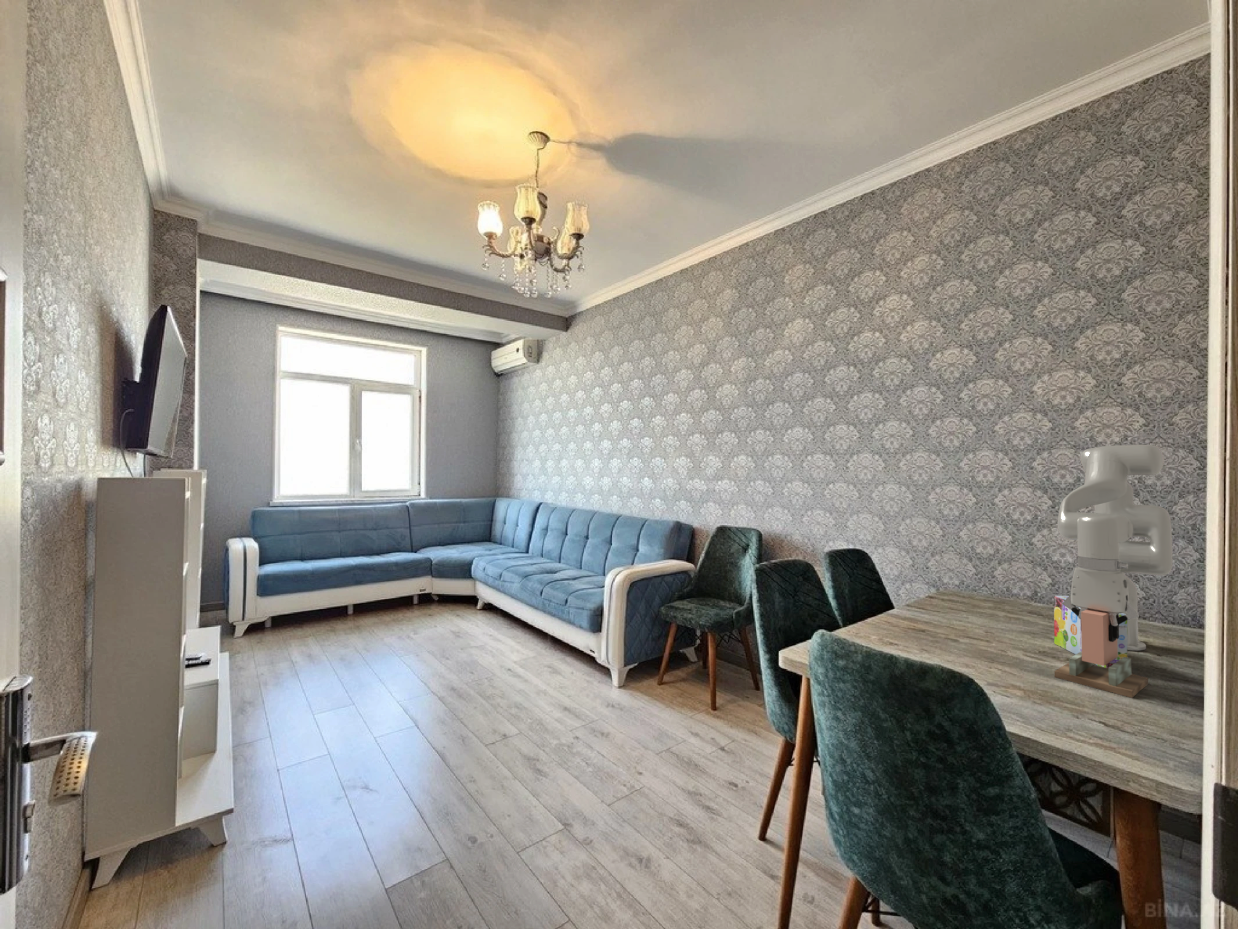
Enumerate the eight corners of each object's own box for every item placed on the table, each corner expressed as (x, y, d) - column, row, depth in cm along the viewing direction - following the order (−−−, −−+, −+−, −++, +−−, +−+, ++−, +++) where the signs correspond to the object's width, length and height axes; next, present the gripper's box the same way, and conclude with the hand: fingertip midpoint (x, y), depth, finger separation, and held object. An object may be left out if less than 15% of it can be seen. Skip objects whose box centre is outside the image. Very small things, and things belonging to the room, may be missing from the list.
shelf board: (1073, 665, 134) (1073, 645, 134) (1148, 684, 122) (1147, 661, 122) (1054, 677, 126) (1054, 655, 126) (1131, 697, 114) (1131, 673, 115)
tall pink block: (1096, 652, 129) (1095, 605, 129) (1117, 657, 125) (1116, 609, 126) (1081, 660, 123) (1081, 611, 123) (1103, 665, 119) (1102, 615, 120)
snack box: (1130, 672, 129) (1129, 614, 130) (1105, 670, 130) (1104, 613, 131) (1073, 645, 150) (1072, 595, 150) (1052, 643, 151) (1051, 594, 152)
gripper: (1150, 568, 120) (1151, 645, 119) (1060, 558, 134) (1061, 627, 133) (1141, 571, 116) (1143, 651, 115) (1050, 561, 130) (1051, 631, 129)
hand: (1099, 637), depth 124 cm, fingers closed on tall pink block, 4 cm apart
